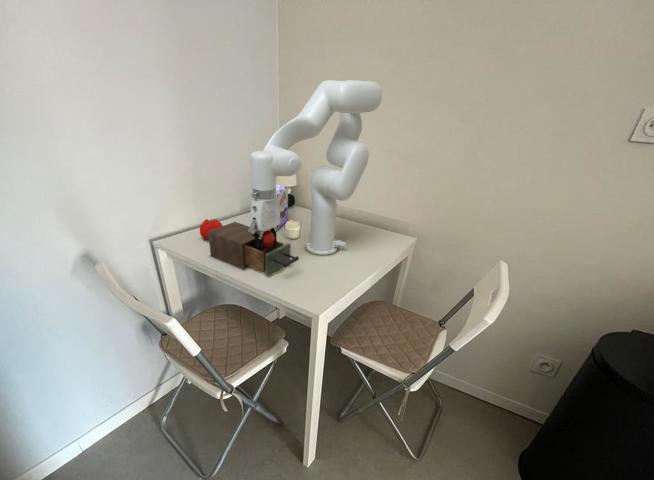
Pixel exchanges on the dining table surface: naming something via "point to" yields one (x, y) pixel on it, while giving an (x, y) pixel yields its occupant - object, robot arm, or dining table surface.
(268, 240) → the apple
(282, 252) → the drawer
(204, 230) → the tomato
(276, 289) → the dining table surface
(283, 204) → the candy box
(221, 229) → the cabinet
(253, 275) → the dining table surface
